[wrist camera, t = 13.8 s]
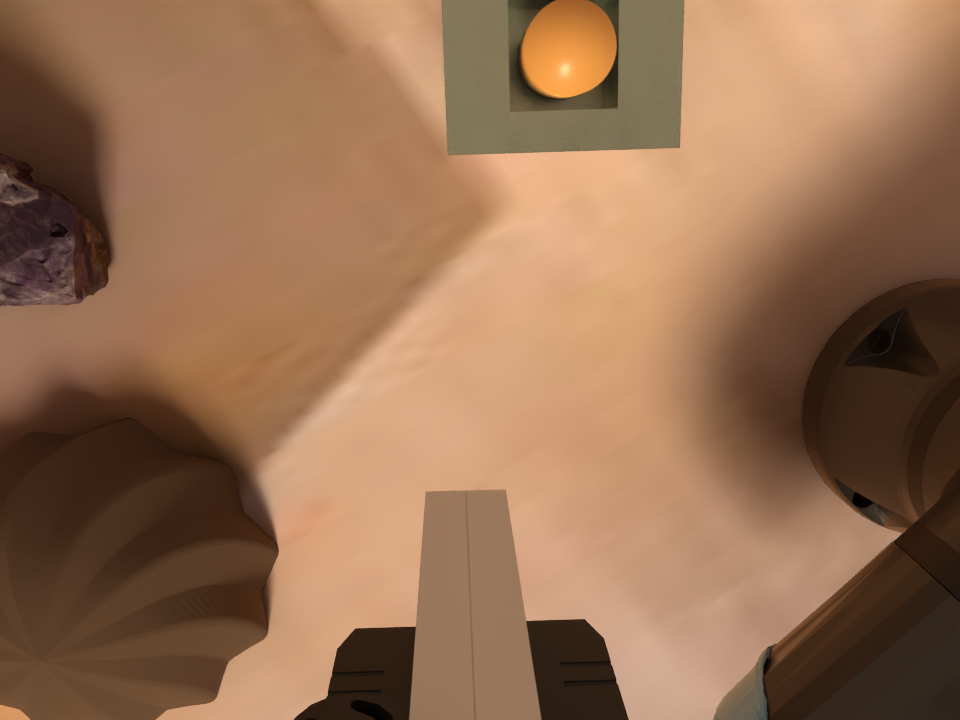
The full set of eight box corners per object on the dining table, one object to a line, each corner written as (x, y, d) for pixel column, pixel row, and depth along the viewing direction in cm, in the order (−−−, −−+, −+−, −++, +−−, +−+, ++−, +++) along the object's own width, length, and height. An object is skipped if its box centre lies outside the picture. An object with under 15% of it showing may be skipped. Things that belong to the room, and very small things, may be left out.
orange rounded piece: (598, 12, 36) (617, -5, 32) (597, 99, 37) (616, 93, 33) (516, 15, 36) (524, -2, 32) (517, 101, 37) (525, 96, 33)
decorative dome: (-83, 435, 49) (-215, 508, 39) (256, 404, 49) (208, 469, 39) (-5, 716, 54) (-106, 843, 44) (302, 687, 54) (269, 807, 44)
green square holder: (634, -12, 43) (685, -56, 34) (631, 146, 46) (679, 147, 36) (442, -7, 43) (439, -49, 34) (448, 152, 45) (447, 155, 36)
